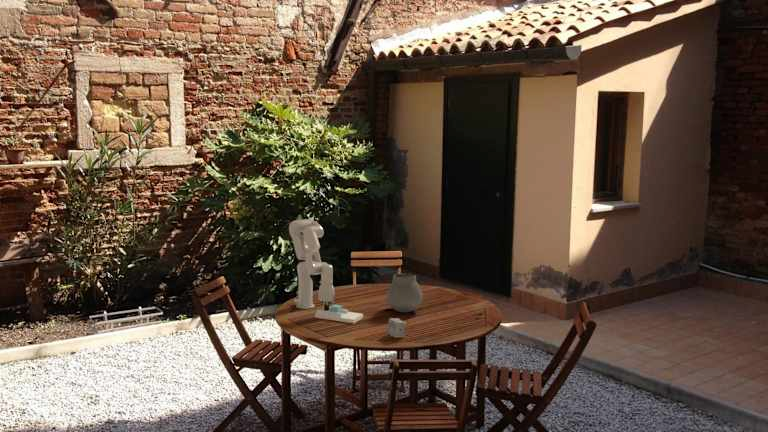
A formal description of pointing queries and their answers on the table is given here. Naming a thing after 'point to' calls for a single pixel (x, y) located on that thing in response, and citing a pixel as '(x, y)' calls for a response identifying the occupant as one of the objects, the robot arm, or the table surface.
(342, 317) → the deck
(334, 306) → the block
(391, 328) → the incense holder
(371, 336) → the table surface
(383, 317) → the table surface
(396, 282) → the ceramic pot
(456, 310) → the table surface
